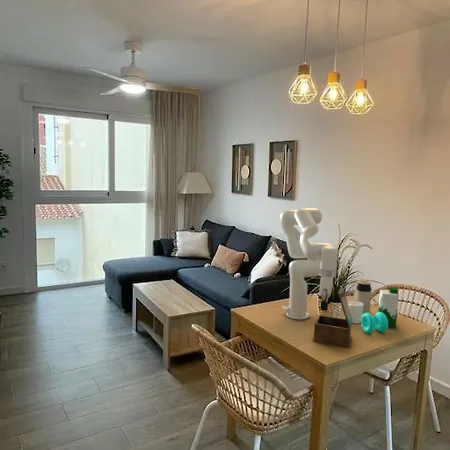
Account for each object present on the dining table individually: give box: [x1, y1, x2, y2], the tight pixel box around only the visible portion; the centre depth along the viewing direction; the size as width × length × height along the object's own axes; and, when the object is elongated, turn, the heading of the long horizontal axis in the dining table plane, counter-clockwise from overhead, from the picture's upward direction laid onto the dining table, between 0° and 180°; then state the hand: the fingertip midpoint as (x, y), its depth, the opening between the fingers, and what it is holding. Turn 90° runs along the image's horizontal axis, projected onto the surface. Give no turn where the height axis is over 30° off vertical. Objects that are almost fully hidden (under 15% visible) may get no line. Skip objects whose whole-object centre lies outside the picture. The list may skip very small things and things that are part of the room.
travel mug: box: [355, 279, 372, 315], centre depth 223 cm, size 8×8×18 cm
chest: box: [313, 314, 353, 348], centre depth 185 cm, size 16×13×9 cm
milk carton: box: [377, 287, 400, 329], centre depth 204 cm, size 9×9×20 cm
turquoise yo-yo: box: [360, 311, 389, 334], centre depth 195 cm, size 10×10×10 cm
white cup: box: [347, 300, 364, 325], centre depth 209 cm, size 8×8×10 cm
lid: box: [337, 286, 356, 328], centre depth 181 cm, size 16×13×6 cm
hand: (325, 306), depth 186 cm, fingers open, 9 cm apart
